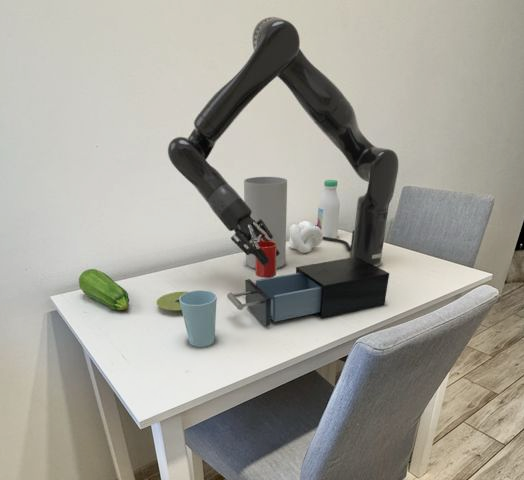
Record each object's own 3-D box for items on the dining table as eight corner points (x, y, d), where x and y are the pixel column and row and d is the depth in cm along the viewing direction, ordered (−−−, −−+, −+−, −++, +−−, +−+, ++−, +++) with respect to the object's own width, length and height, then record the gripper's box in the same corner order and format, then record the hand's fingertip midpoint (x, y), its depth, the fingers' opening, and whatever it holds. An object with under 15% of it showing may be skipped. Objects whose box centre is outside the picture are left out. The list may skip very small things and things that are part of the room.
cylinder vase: (261, 254, 142) (260, 175, 129) (292, 262, 136) (295, 179, 123) (238, 265, 133) (234, 181, 120) (270, 273, 127) (270, 185, 114)
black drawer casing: (321, 319, 101) (323, 285, 97) (294, 297, 112) (296, 266, 107) (384, 305, 108) (389, 273, 103) (353, 286, 118) (357, 256, 114)
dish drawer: (242, 331, 94) (241, 303, 91) (224, 309, 104) (222, 283, 100) (331, 312, 102) (334, 286, 99) (306, 293, 112) (308, 269, 108)
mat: (153, 302, 110) (152, 295, 109) (195, 295, 114) (194, 288, 113) (162, 320, 101) (161, 313, 100) (207, 311, 105) (207, 304, 104)
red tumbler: (252, 272, 112) (251, 242, 108) (270, 269, 114) (270, 239, 110) (260, 279, 108) (260, 248, 104) (279, 275, 110) (279, 245, 105)
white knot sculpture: (310, 257, 139) (311, 230, 134) (278, 251, 144) (279, 225, 140) (325, 248, 147) (327, 222, 142) (295, 243, 153) (295, 218, 148)
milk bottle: (339, 235, 161) (344, 179, 150) (333, 241, 155) (338, 183, 144) (320, 233, 163) (323, 178, 153) (313, 238, 157) (317, 181, 147)
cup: (177, 339, 93) (172, 296, 87) (206, 329, 97) (203, 287, 92) (196, 353, 88) (191, 308, 83) (226, 341, 92) (223, 298, 87)
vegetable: (89, 260, 113) (127, 281, 101) (105, 279, 118) (143, 301, 106) (68, 278, 111) (104, 302, 98) (85, 297, 116) (122, 321, 104)
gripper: (223, 203, 98) (269, 259, 100) (251, 191, 109) (292, 242, 111) (205, 223, 103) (250, 277, 105) (234, 210, 114) (274, 259, 116)
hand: (272, 259), depth 108 cm, fingers closed on red tumbler, 5 cm apart
